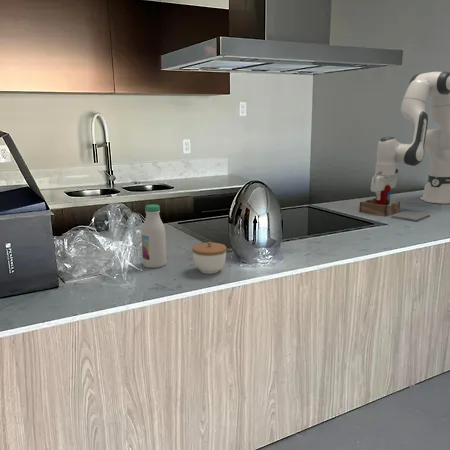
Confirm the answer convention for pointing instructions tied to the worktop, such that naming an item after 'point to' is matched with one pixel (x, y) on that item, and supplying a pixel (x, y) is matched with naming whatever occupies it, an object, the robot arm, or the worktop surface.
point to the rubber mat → (410, 216)
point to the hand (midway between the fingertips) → (382, 198)
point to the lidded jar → (209, 257)
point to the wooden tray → (378, 208)
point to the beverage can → (384, 196)
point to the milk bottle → (153, 238)
